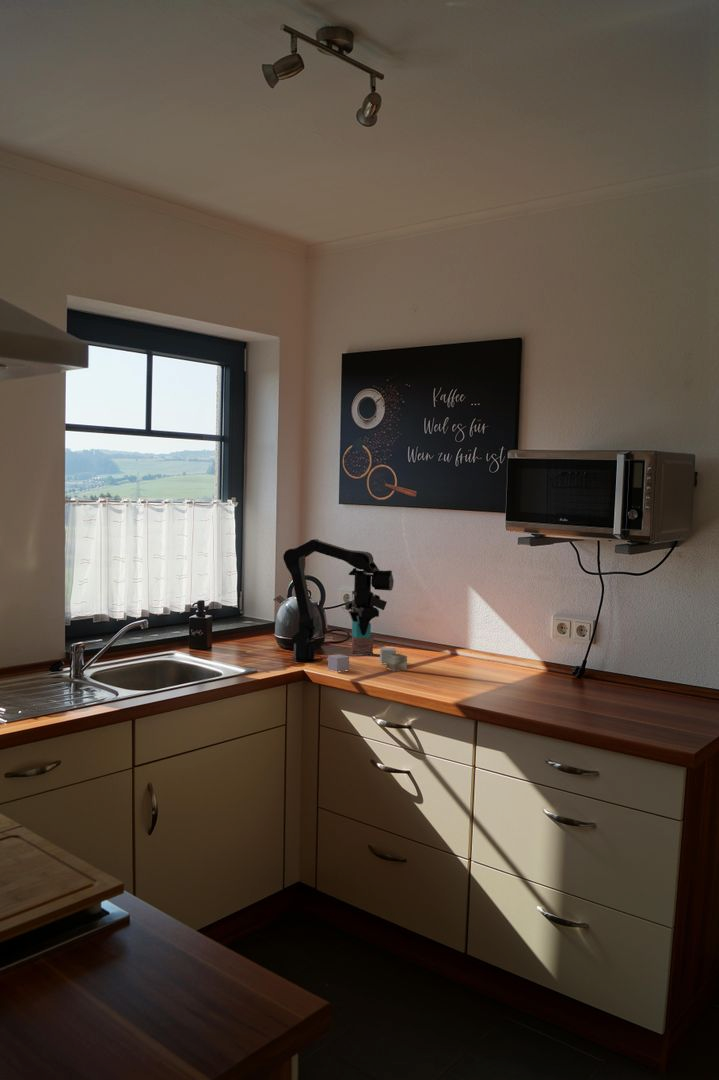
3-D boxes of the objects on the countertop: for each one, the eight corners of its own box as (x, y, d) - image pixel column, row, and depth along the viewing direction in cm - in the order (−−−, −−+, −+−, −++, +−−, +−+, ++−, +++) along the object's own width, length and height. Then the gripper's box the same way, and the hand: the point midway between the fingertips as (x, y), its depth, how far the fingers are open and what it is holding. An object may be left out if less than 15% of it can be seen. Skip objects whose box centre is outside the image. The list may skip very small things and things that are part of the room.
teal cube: (356, 638, 298) (356, 623, 297) (351, 635, 302) (352, 621, 302) (370, 637, 299) (370, 623, 299) (365, 635, 304) (365, 621, 304)
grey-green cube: (393, 672, 293) (394, 657, 293) (386, 668, 297) (386, 654, 297) (406, 670, 295) (407, 656, 295) (398, 667, 300) (399, 653, 299)
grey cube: (381, 664, 304) (381, 650, 304) (379, 661, 309) (380, 647, 309) (395, 664, 305) (396, 650, 304) (393, 661, 310) (394, 647, 309)
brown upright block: (373, 653, 322) (374, 626, 321) (372, 655, 319) (373, 628, 318) (351, 652, 323) (352, 625, 322) (350, 654, 320) (351, 627, 319)
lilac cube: (336, 673, 288) (337, 658, 288) (327, 670, 292) (328, 655, 292) (348, 671, 291) (349, 656, 291) (339, 668, 295) (340, 654, 295)
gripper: (394, 592, 294) (392, 638, 295) (375, 585, 311) (373, 628, 312) (362, 592, 290) (361, 639, 291) (345, 585, 308) (344, 629, 309)
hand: (361, 633), depth 301 cm, fingers closed on teal cube, 5 cm apart
